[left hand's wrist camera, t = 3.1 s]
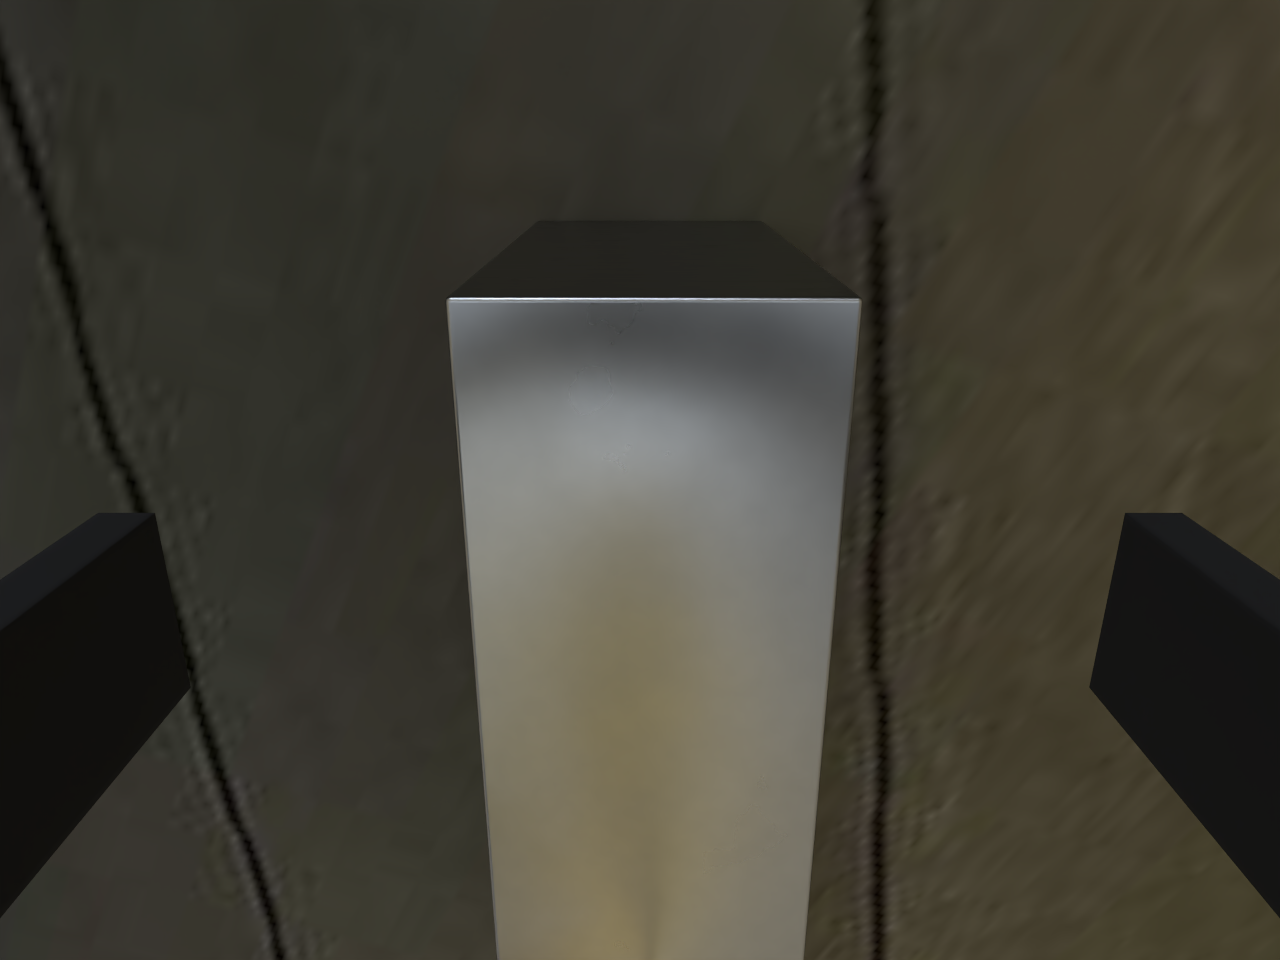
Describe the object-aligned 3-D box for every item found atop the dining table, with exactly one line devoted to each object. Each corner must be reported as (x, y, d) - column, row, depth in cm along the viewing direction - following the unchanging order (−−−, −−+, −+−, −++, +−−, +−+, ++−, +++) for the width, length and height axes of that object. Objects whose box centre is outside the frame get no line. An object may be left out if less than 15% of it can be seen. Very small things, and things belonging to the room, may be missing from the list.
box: (536, 220, 24) (444, 296, 13) (763, 221, 24) (864, 297, 13) (565, 958, 33) (527, 1360, 22) (728, 959, 33) (768, 1361, 22)
